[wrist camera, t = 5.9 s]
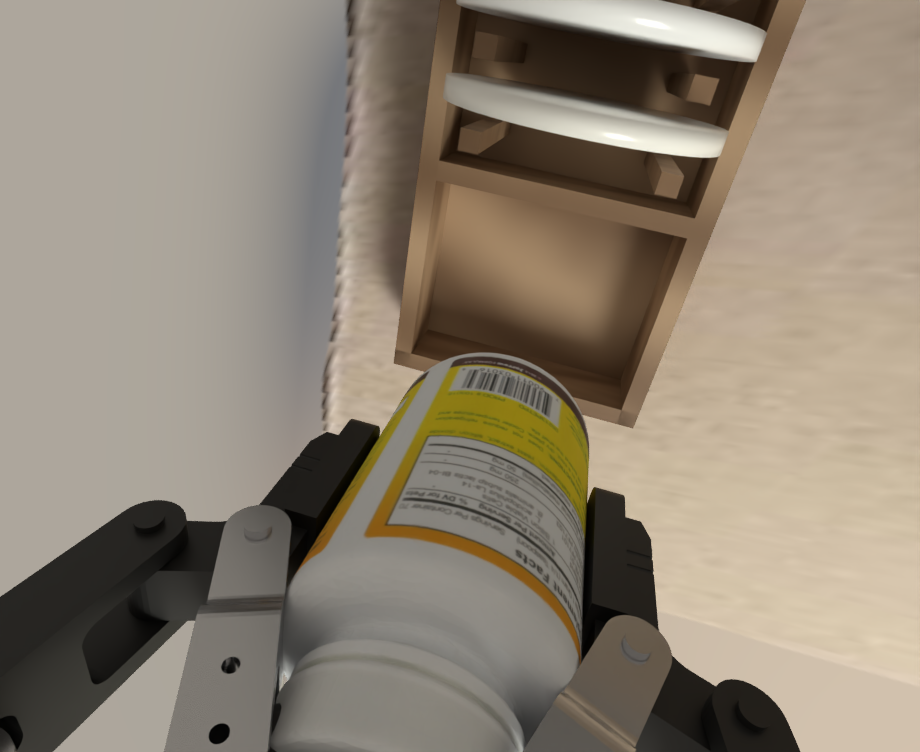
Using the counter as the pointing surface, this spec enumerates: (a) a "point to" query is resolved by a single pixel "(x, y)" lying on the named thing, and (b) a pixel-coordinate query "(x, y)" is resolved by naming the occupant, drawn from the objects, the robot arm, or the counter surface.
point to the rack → (571, 204)
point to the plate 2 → (584, 116)
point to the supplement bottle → (445, 573)
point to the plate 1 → (637, 24)
